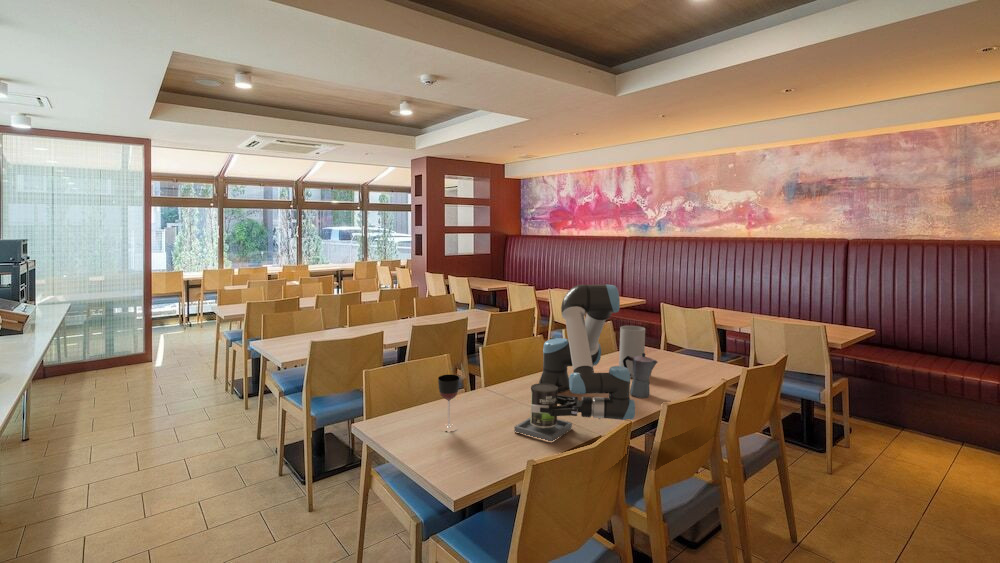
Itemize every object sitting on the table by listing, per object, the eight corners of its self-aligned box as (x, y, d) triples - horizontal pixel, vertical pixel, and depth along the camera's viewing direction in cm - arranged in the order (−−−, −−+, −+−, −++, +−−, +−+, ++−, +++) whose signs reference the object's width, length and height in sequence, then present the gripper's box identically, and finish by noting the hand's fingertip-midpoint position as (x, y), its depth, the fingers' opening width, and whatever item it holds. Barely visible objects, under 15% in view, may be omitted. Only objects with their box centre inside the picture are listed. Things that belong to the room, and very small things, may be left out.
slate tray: (514, 432, 191) (514, 426, 191) (535, 419, 204) (536, 413, 204) (551, 443, 182) (551, 437, 182) (571, 428, 195) (571, 422, 195)
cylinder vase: (628, 370, 274) (630, 324, 271) (648, 375, 264) (650, 328, 261) (613, 374, 266) (615, 327, 263) (633, 380, 256) (635, 331, 253)
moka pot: (657, 399, 228) (659, 356, 226) (622, 397, 231) (623, 354, 229) (655, 393, 237) (657, 351, 235) (621, 390, 240) (622, 349, 238)
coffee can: (561, 426, 189) (562, 390, 188) (535, 429, 187) (536, 392, 185) (551, 416, 199) (551, 382, 198) (526, 419, 196) (526, 384, 195)
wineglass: (459, 423, 200) (459, 374, 197) (458, 432, 191) (458, 381, 189) (439, 423, 199) (439, 374, 197) (437, 432, 191) (437, 381, 188)
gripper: (592, 428, 178) (529, 424, 182) (591, 406, 201) (535, 402, 204) (592, 408, 178) (529, 404, 181) (591, 387, 200) (535, 384, 203)
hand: (532, 403), depth 193 cm, fingers closed on coffee can, 10 cm apart
